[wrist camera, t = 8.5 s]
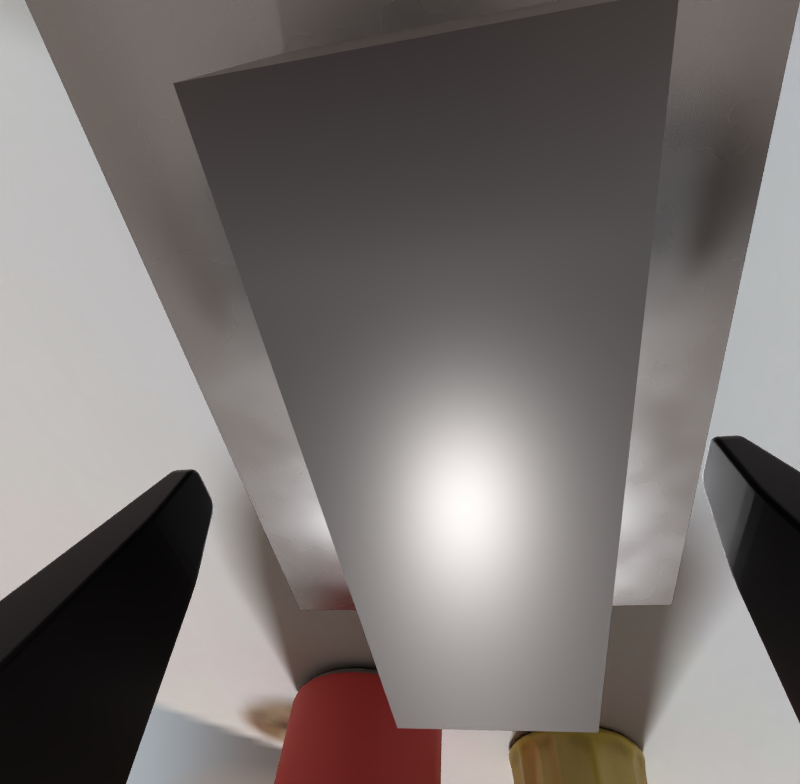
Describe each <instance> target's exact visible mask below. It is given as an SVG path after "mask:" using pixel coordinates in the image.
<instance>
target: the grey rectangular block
mask: <svg viewBox="0 0 800 784" xmlns="http://www.w3.org/2000/svg"><path fill="white" fill-rule="evenodd" d="M678 2H679V0H560V1H554V2H549V3H544V4H539V5H533V6H528V7H523V8H518V9H512V10H507V11H502V12H497V13H491V14H486V15H481V16H475V17H470V18H465V19H460V20H454V21H449V22H444V23H439V24H433V25H428V26H423V27H417V28H412V29H407V30H402V31H396V32H391V33H386V34H381V35H375V36H370V37H365V38H360V39H354V40H349V41H344V42H338V43H333V44H328V45H323V46H317V47H312V48H307V49H302V50H296V51H291V52H286V53H282V54H278V55H275V56H271V57H267V58H264V59H260V60H256V61H253V62H249V63H245V64H242V65H238V66H234V67H231V68H227V69H223V70H220V71H216V72H212V73H209V74H205V75H201V76H198V77H194V78H190V79H187V80H183V81H180V82H176V83H173V84H174V87H175V90H176V93H177V96H178V99H179V102H180V105H181V107H182V110H183V113H184V116H185V119H186V122H187V125H188V128H189V130H190V133H191V136H192V139H193V142H194V145H195V148H196V151H197V153H198V156H199V159H200V162H201V165H202V168H203V171H204V174H205V176H206V179H207V182H208V185H209V188H210V191H211V194H212V197H213V199H214V202H215V205H216V208H217V211H218V214H219V217H220V219H221V222H222V225H223V228H224V231H225V234H226V237H227V240H228V242H229V245H230V248H231V251H232V254H233V257H234V260H235V263H236V265H237V268H238V271H239V274H240V277H241V280H242V283H243V286H244V288H245V291H246V294H247V297H248V300H249V303H250V306H251V309H252V311H253V314H254V317H255V320H256V323H257V326H258V329H259V332H260V334H261V337H262V340H263V343H264V346H265V349H266V352H267V355H268V357H269V360H270V363H271V366H272V369H273V372H274V375H275V378H276V380H277V383H278V386H279V389H280V392H281V395H282V398H283V401H284V403H285V406H286V409H287V412H288V415H289V418H290V421H291V424H292V426H293V429H294V432H295V435H296V438H297V441H298V444H299V446H300V449H301V452H302V455H303V458H304V461H305V464H306V467H307V469H308V472H309V475H310V478H311V481H312V484H313V487H314V490H315V492H316V495H317V498H318V501H319V504H320V507H321V510H322V513H323V515H324V518H325V521H326V524H327V527H328V530H329V533H330V536H331V538H332V541H333V544H334V547H335V550H336V553H337V556H338V559H339V561H340V564H341V567H342V570H343V573H344V576H345V579H346V582H347V584H348V587H349V590H350V593H351V596H352V599H353V602H354V605H355V607H356V610H357V613H358V616H359V619H360V622H361V625H362V628H363V630H364V633H365V636H366V639H367V642H368V645H369V648H370V651H371V653H372V656H373V659H374V662H375V665H376V668H377V671H378V673H379V676H380V679H381V682H382V685H383V688H384V691H385V694H386V696H387V699H388V702H389V705H390V708H391V711H392V714H393V717H394V719H395V722H396V725H397V728H413V729H459V730H505V731H551V732H597V733H598V732H599V723H600V714H601V704H602V695H603V686H604V677H605V668H606V659H607V650H608V641H609V631H610V622H611V613H612V604H613V595H614V586H615V577H616V568H617V558H618V549H619V540H620V531H621V522H622V513H623V504H624V495H625V486H626V476H627V467H628V458H629V449H630V440H631V431H632V422H633V413H634V403H635V394H636V385H637V376H638V367H639V358H640V349H641V340H642V331H643V321H644V312H645V303H646V294H647V285H648V276H649V267H650V258H651V248H652V239H653V230H654V221H655V212H656V203H657V194H658V185H659V176H660V166H661V157H662V148H663V139H664V130H665V121H666V112H667V103H668V93H669V84H670V75H671V66H672V57H673V48H674V39H675V30H676V21H677V11H678Z"/></svg>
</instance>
